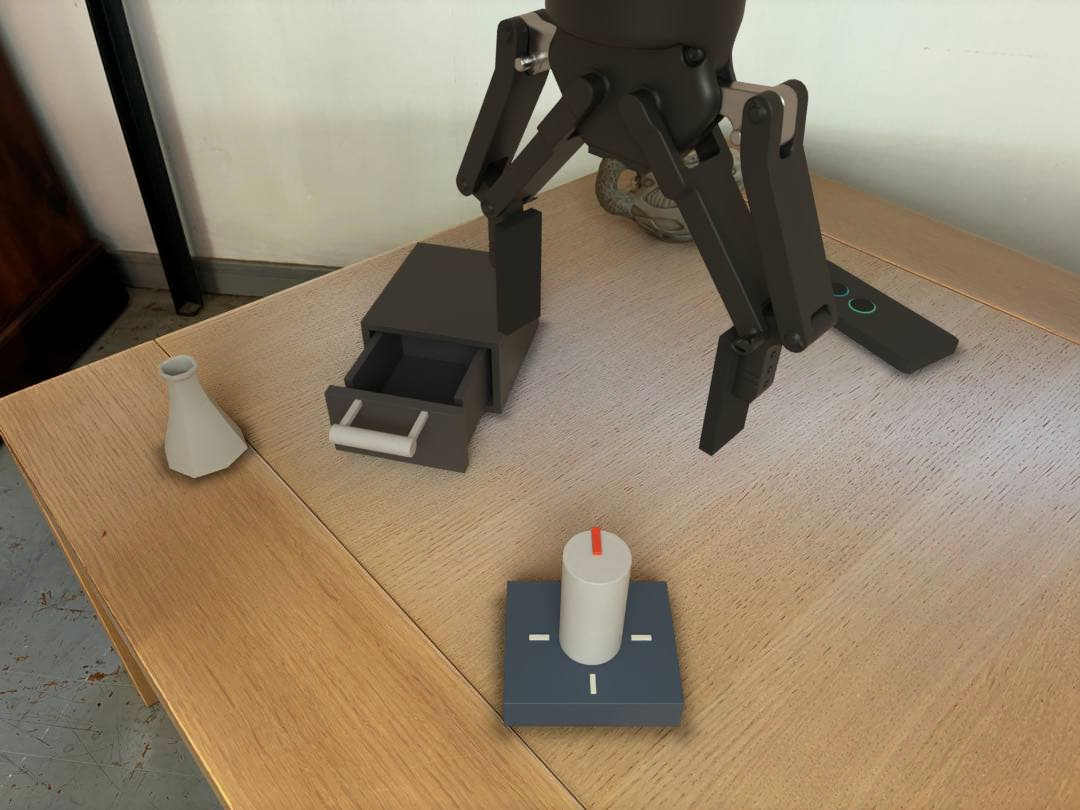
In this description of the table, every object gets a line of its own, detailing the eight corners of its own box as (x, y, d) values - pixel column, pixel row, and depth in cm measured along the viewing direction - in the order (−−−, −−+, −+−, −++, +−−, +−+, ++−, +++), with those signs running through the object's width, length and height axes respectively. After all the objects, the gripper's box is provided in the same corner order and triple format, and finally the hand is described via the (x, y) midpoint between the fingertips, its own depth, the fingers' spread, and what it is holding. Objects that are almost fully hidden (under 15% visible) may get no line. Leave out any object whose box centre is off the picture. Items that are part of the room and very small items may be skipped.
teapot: (722, 204, 115) (740, 96, 105) (764, 244, 107) (787, 130, 97) (578, 226, 110) (583, 114, 100) (610, 269, 102) (618, 152, 92)
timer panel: (503, 726, 56) (503, 702, 54) (507, 604, 64) (507, 579, 62) (679, 726, 57) (685, 702, 55) (662, 605, 64) (666, 579, 62)
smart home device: (825, 255, 101) (963, 338, 88) (821, 268, 103) (957, 351, 90) (774, 273, 98) (910, 362, 85) (771, 286, 99) (905, 375, 86)
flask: (262, 450, 77) (238, 364, 70) (190, 490, 73) (157, 404, 66) (221, 414, 81) (194, 330, 74) (151, 451, 77) (116, 365, 70)
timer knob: (623, 665, 57) (635, 581, 51) (559, 665, 57) (563, 581, 51) (619, 611, 60) (629, 526, 54) (558, 611, 60) (562, 526, 54)
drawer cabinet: (501, 414, 81) (499, 343, 75) (371, 392, 83) (359, 321, 78) (539, 325, 93) (539, 258, 87) (424, 308, 95) (417, 241, 89)
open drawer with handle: (446, 514, 70) (441, 453, 65) (311, 488, 72) (296, 426, 67) (508, 375, 84) (507, 316, 80) (394, 357, 86) (386, 298, 82)
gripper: (1059, -53, 25) (869, 457, 39) (486, -144, 38) (497, 261, 52) (956, -5, 21) (784, 547, 34) (352, -126, 34) (402, 310, 47)
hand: (611, 376), depth 43 cm, fingers open, 13 cm apart
